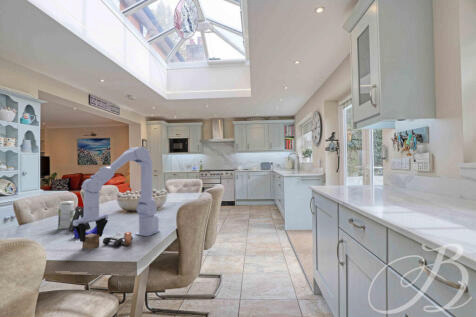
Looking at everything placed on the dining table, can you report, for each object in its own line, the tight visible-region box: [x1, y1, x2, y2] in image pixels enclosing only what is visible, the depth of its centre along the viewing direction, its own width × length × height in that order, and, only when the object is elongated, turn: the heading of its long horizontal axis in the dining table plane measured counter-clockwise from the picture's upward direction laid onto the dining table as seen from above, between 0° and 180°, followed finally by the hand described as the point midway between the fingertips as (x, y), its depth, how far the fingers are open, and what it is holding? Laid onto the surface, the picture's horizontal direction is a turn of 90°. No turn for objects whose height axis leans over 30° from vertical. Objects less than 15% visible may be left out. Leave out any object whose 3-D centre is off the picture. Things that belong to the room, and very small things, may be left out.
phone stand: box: [68, 206, 91, 233], centre depth 135 cm, size 9×6×12 cm, turn 137°
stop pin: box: [121, 231, 132, 247], centre depth 109 cm, size 3×8×5 cm, turn 66°
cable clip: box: [73, 225, 97, 240], centre depth 124 cm, size 12×4×6 cm, turn 143°
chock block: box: [82, 234, 100, 250], centre depth 106 cm, size 4×5×5 cm
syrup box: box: [57, 200, 75, 230], centre depth 138 cm, size 6×6×14 cm
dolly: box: [102, 233, 134, 248], centre depth 110 cm, size 9×8×3 cm
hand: (91, 238), depth 106 cm, fingers open, 7 cm apart
